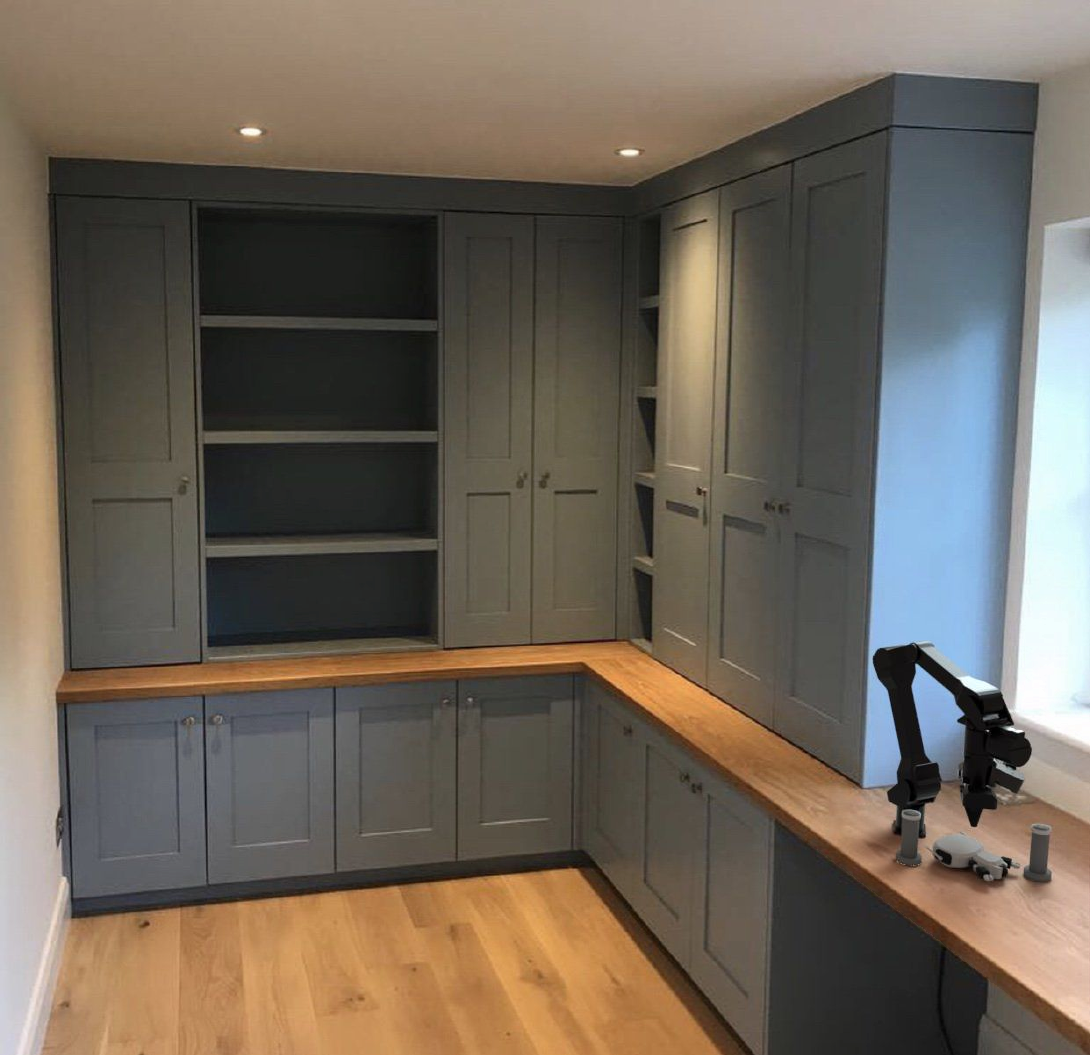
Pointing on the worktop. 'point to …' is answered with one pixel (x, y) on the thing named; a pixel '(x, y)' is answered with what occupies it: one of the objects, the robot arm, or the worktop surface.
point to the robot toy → (971, 856)
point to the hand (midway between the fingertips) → (973, 826)
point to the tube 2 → (1039, 854)
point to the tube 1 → (909, 839)
